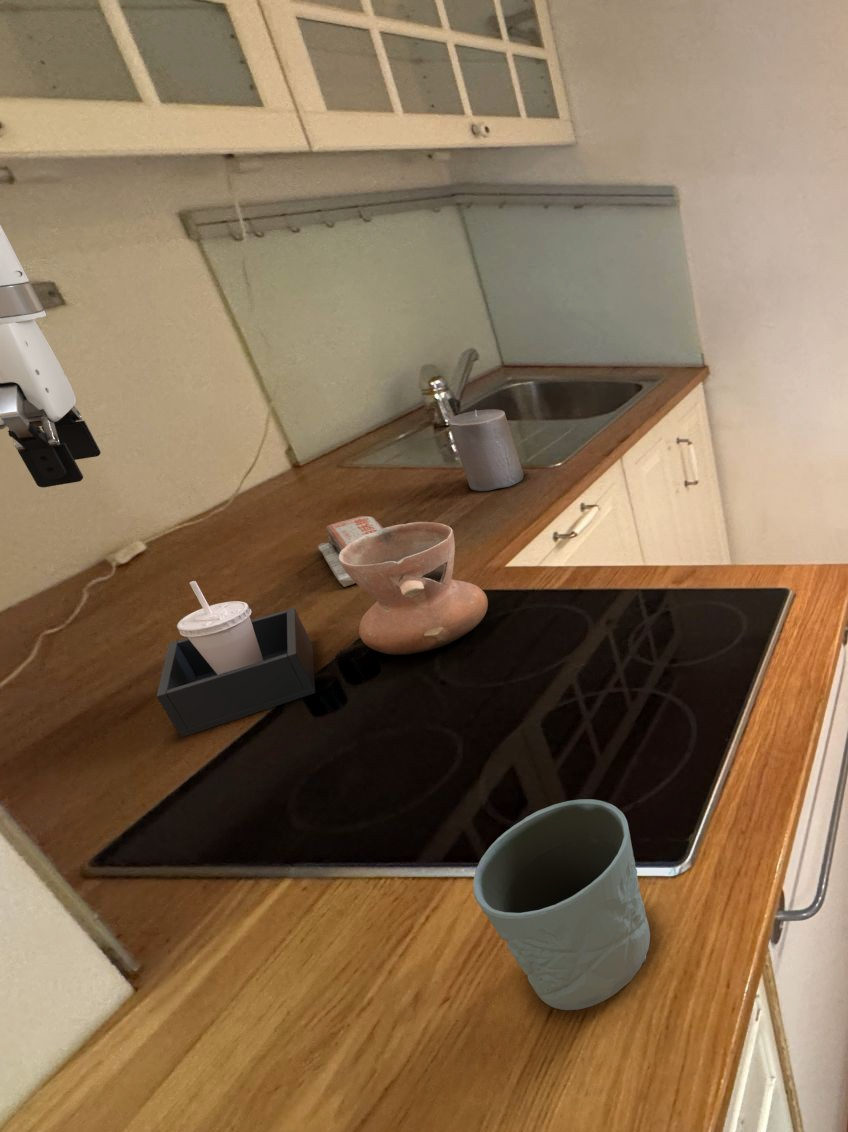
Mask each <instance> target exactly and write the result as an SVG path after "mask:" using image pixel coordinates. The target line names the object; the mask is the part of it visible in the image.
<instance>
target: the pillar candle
mask: <svg viewBox="0 0 848 1132" xmlns="http://www.w3.org/2000/svg"><path fill="white" fill-rule="evenodd" d="M447 422H448V427H449V430H450V432H451V436H452V439H453V440H454V444H455V448H456V450H457V454H458V456H459V459H460V462H461V465H462V468H463V471H464V474H465V477H466V480H467V483H468V487H469V488H470V489H471V490H473V491H477V492H488V491H489V492H490V491H494V490H498V489H504V488H508V487H512V486H514V485H517V484H518V483H520V482H522V480H523V479H524V476H525V474H524V471H523V468H522V465H521V462H520V459H519V455H518V451H517V449H516V445H515V442H514V439H513V436H512V433H511V428H510V426H509V423H508V420H507V416H506V413H505V411H504V410H502V409H495V408H494V409H478V410H477V409H474V410H472V411H469V412H467V411H466V412H463V413H460V414H457V415H454V416H452V417H451V418H449V420H448V421H447Z"/></svg>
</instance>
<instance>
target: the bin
mask: <svg viewBox="0 0 848 1132" xmlns="http://www.w3.org/2000/svg"><path fill="white" fill-rule="evenodd" d="M251 622H252V625H253V629H254V632H255V635H256V639H257V642H258V645H259V648H260V651H261V654H262V658H263V661H261V662H258V663H254V664H251V665H248V666H245V667H241V668H238V669H235V670H232V671H228V672H225V673H222V674H218V675H217V673H216V672H215V671H214V670H213V668H212V667H211V666H210V665H209V664H208V662H207V661H206V660H205V659H204V657H203V656H202V655H201V654H200V652H199V651H198V650H197V649H196V647H195V646H194V645H193V644H192V643H191V641H190V640H189V639H188V637H185V638H182V639H179V640H175V641H171V642H168V646H167V647H168V648H167V649H166V650H167V651H166V655H165V659H164V662H163V667H162V672H161V676H160V680H159V684H158V688H157V693H156V698H157V700H158V702H159V703H160V705H161V707H162V708H163V710H164V712H165V713H166V715H167V716H168V718H169V719H170V721H171V723H172V724H173V727H174V728H175V729H176V731H177V733H178V735H179V736H180V738H185V737H188V736H191V735H194V734H197V733H200V732H203V731H206V730H209V729H211V728H214V727H217V726H221V725H224V724H228V723H230V722H233V721H236V720H239V719H243V718H244V717H248V716H251V715H253V714H257V713H260V712H263V711H266V710H268V709H271V708H275V707H277V706H280V705H284V704H286V703H290V702H292V701H296V700H299V699H301V698H305V697H308V696H311V695H313V694H316V681H315V666H314V653H313V652H314V651H313V644H312V641H311V639H310V637H309V635H308V633H307V631H306V629H305V626H304V624H303V623H302V620H301V618H300V617H299V614H298V612H297V610H296V608H295V607H292V608H289V609H285V610H281V611H278V612H273V613H271V614H268V615H264V616H260V617H256V618H253V619H251Z"/></svg>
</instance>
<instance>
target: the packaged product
mask: <svg viewBox="0 0 848 1132" xmlns="http://www.w3.org/2000/svg"><path fill="white" fill-rule="evenodd" d="M387 527H388V526H386V527H385V528H387ZM383 528H384V527H383V526H382V525H381V523H379V522H378V521H377V519H376V518H374V517H373V516H369V515H368V516H367V515H364V516H363V515H359V516H357V517H352V518H349V519H346V520H345V519H344V520H342V521H338V522H335V523H331V524H329V525H327V526H326V533H327V538H328V540H329V541H328V542H321V543H320V544H318V545H317V548H318V550H319V551H320V553H321V554H322V555H323V558H324V560H325V561H326V563H327V564H328V566H329V568H330V570H331V572H332V573H333V576H335V578H336V580H337V581H338V582H339V583H340V584H341V585H342V586H343V587H344V588H345V587H348V586H351V585H354V584H356V583H355V582H354V580H353V579H352V578H351V577H350V576H349V575H348V574H347V572H346V571H345V570H344V568H343V567H342V565H341V563H340V561H339V553H340V552H341V550H342V549H344V548H345V547H346V546H347V545H348V544H350V543H351V542H353V541H355V540H357V539H358V538H360V537H362V536H364V535H366V534H370V533H373V532H376V531H379V530H381V529H383Z"/></svg>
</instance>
